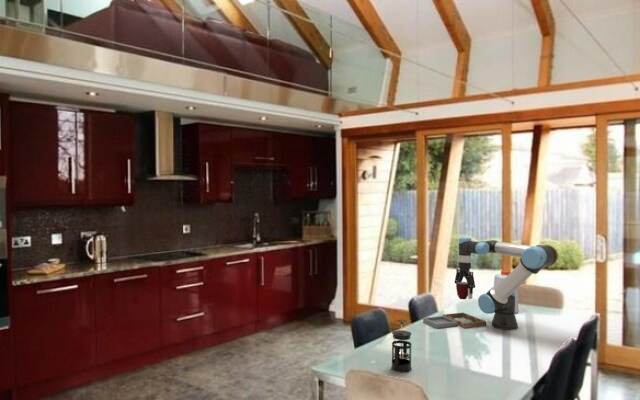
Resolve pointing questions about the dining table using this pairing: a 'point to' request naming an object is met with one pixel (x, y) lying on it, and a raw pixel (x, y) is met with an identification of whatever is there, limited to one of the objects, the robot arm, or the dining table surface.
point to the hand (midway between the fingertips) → (464, 296)
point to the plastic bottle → (499, 279)
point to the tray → (440, 322)
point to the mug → (462, 289)
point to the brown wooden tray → (475, 323)
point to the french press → (401, 357)
